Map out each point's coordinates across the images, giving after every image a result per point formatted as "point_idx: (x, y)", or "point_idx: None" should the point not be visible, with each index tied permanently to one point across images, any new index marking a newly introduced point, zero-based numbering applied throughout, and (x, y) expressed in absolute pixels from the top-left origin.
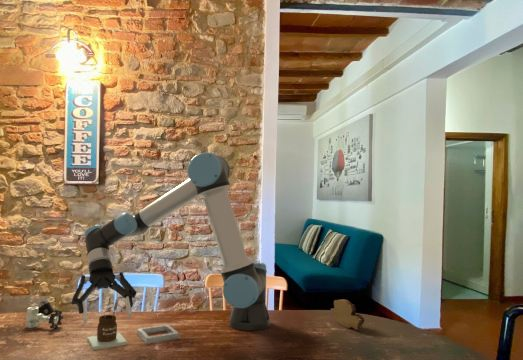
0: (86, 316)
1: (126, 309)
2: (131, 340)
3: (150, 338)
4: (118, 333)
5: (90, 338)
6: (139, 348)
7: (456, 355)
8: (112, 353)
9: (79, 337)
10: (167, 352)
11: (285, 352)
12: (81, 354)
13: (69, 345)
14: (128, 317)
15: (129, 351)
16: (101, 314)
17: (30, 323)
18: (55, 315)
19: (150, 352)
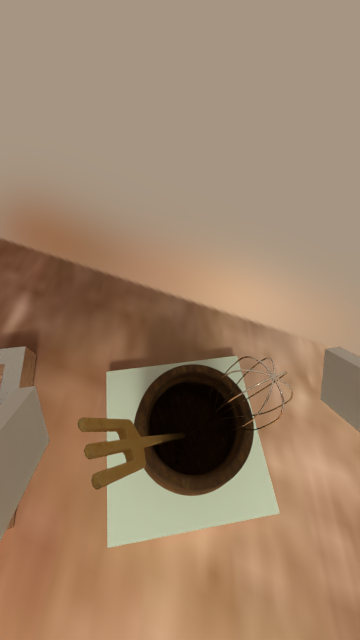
0: (345, 357)
1: (12, 503)
2: (76, 424)
3: (9, 349)
4: (116, 522)
5: (261, 476)
6: (78, 322)
7: None
8: (172, 310)
9: (326, 590)
10: (12, 264)
11: None
12: (269, 334)
13: (339, 453)
14: (44, 431)
15: (117, 308)
16: (246, 429)
17: None
18: None
19: (58, 279)
